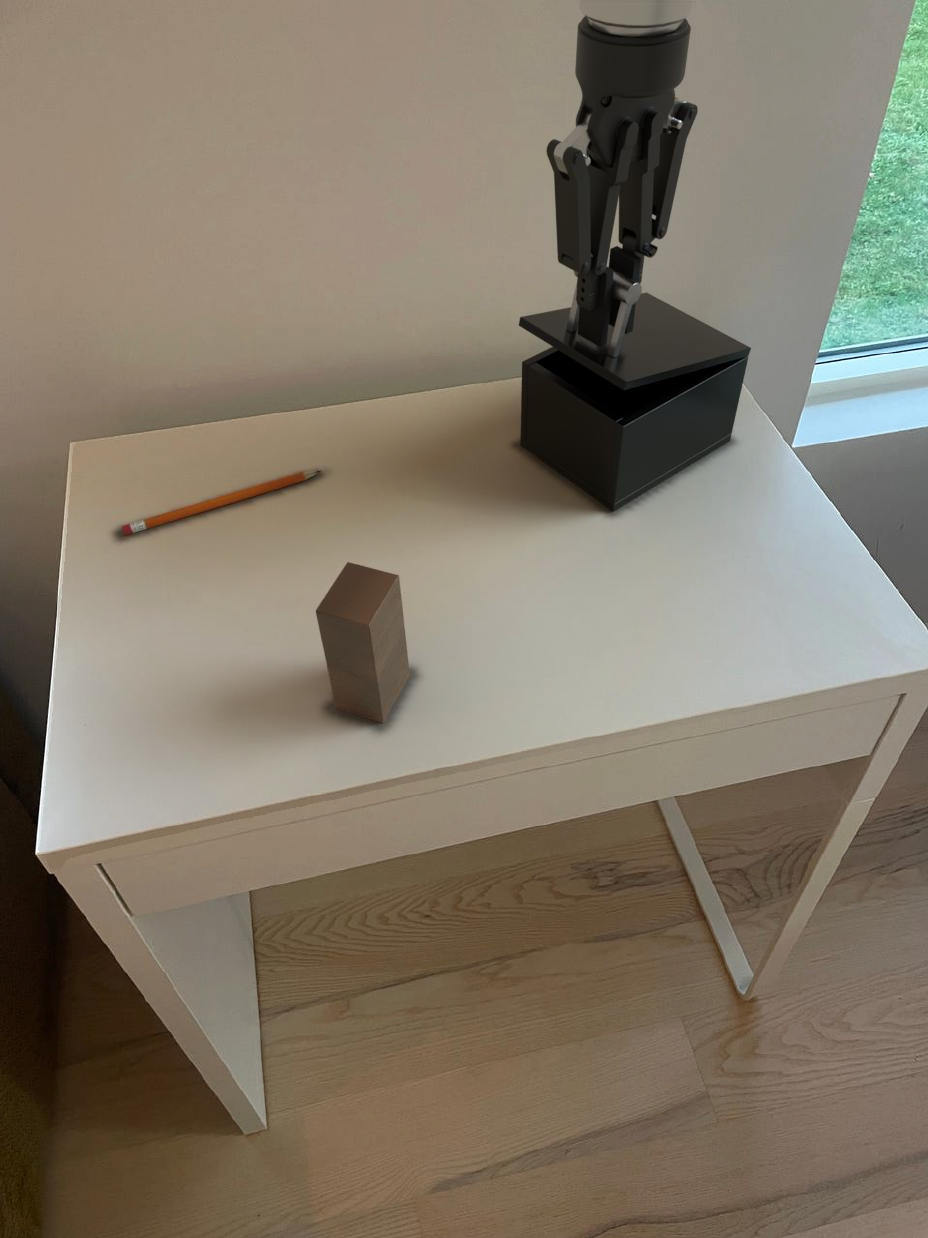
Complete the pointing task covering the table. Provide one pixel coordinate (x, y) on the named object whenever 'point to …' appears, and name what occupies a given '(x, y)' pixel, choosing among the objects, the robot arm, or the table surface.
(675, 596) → the table surface
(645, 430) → the black box
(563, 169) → the robot arm
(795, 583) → the table surface
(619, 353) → the box lid
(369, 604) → the tall brown wooden bar
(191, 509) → the pencil
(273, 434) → the table surface
